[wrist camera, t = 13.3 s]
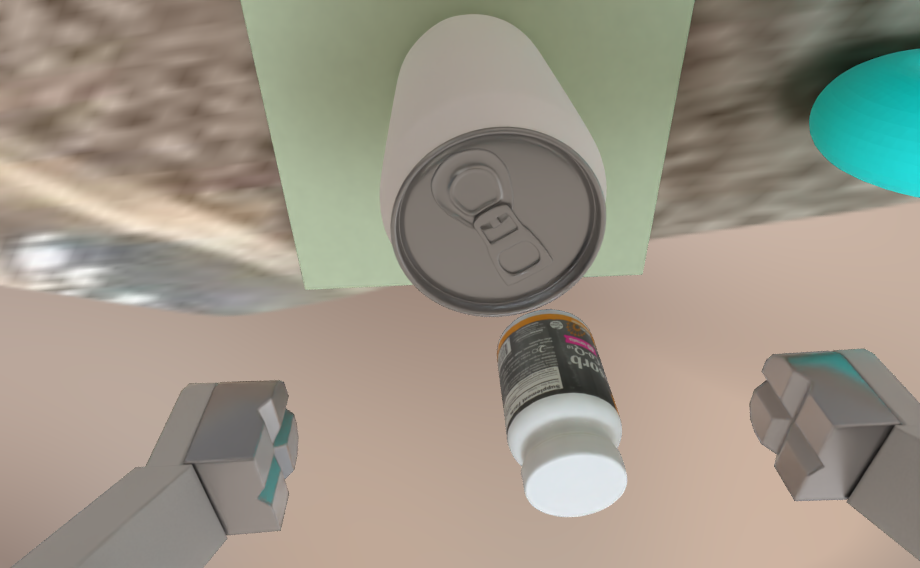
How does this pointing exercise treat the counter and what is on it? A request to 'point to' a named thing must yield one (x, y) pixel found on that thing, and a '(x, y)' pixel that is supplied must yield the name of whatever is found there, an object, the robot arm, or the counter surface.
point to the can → (489, 172)
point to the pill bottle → (560, 414)
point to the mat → (372, 94)
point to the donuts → (873, 122)
